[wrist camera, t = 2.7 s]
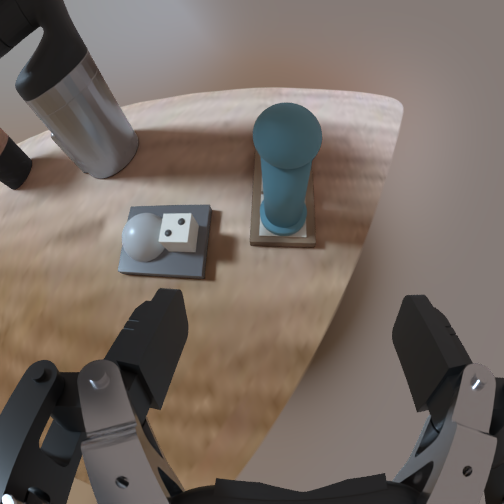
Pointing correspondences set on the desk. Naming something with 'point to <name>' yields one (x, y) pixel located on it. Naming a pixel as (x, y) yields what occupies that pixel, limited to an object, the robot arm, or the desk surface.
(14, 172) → the travel mug
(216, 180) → the desk surface
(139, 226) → the die tray
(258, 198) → the track board
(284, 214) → the pawn
